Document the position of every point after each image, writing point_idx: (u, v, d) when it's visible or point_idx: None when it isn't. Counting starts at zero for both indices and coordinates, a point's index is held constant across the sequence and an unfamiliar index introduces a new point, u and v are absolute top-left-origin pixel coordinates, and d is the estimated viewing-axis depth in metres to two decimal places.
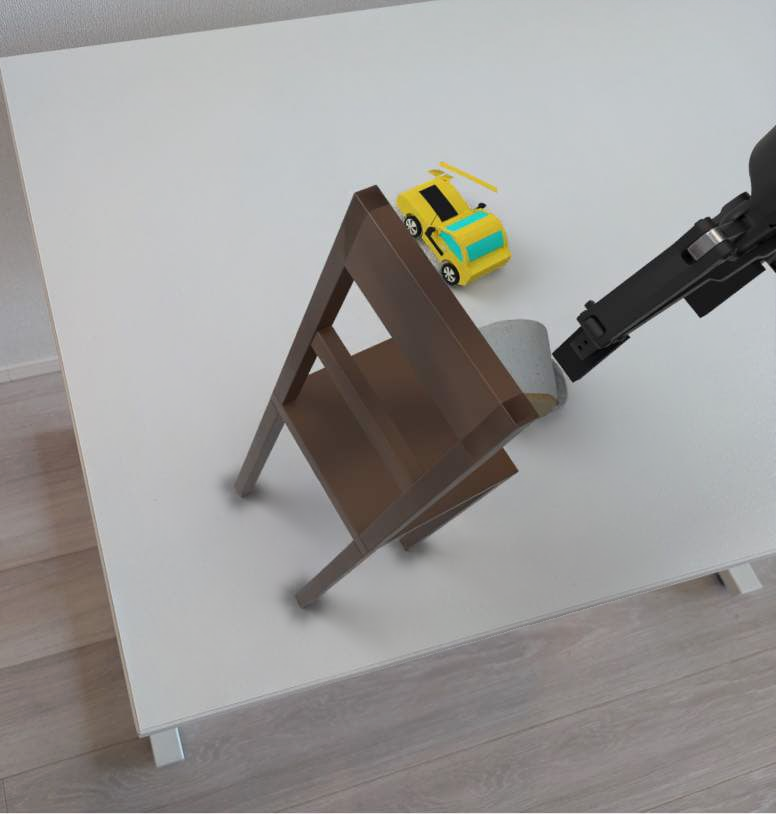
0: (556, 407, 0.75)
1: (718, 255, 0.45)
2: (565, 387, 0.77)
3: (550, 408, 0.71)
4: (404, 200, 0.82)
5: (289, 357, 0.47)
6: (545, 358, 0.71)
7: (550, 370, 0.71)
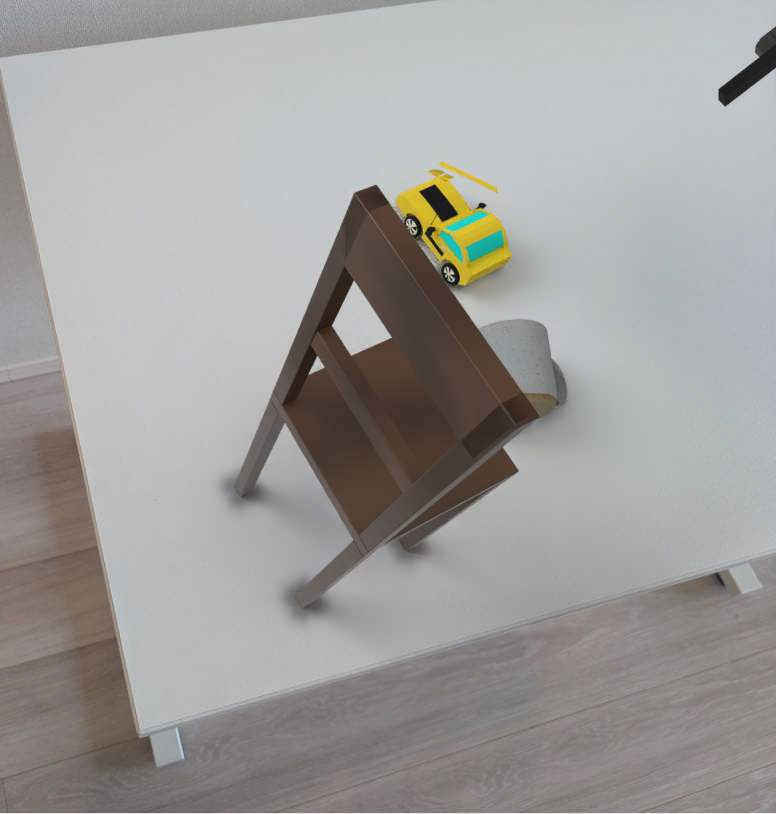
0: (556, 407, 0.75)
1: None
2: (565, 387, 0.77)
3: (550, 408, 0.71)
4: (404, 200, 0.82)
5: (289, 357, 0.47)
6: (545, 358, 0.71)
7: (550, 370, 0.71)
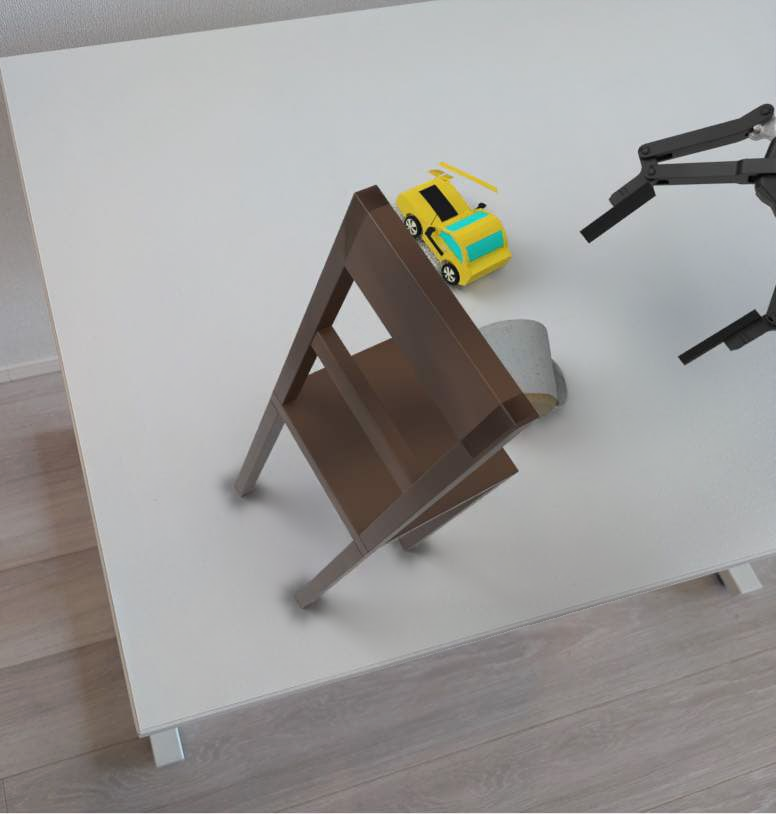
0: (556, 407, 0.75)
1: (761, 106, 0.63)
2: (565, 387, 0.77)
3: (550, 408, 0.71)
4: (404, 200, 0.82)
5: (289, 357, 0.47)
6: (545, 358, 0.71)
7: (550, 370, 0.71)
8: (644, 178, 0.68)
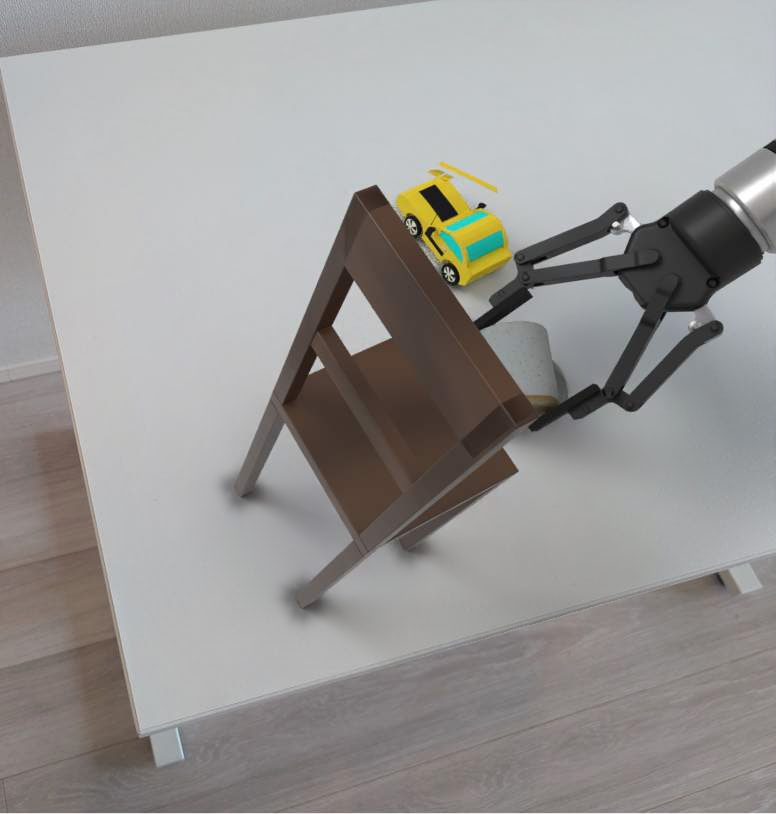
0: None
1: None
2: (566, 388, 0.77)
3: None
4: (404, 200, 0.82)
5: (289, 357, 0.47)
6: (546, 360, 0.71)
7: (551, 371, 0.71)
8: (521, 283, 0.71)
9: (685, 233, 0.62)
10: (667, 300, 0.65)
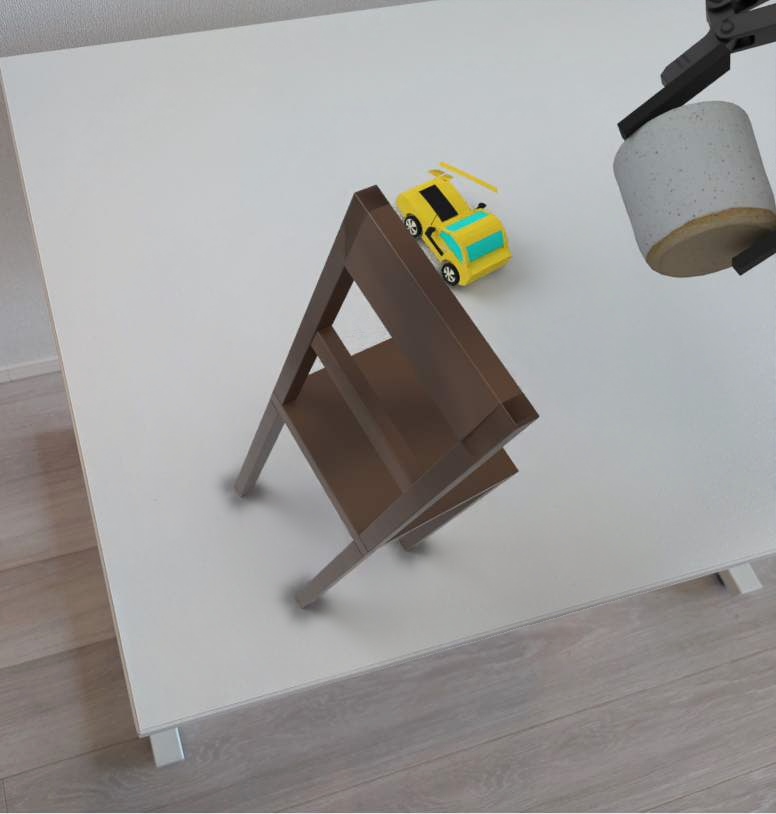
0: None
1: None
2: None
3: None
4: (404, 200, 0.82)
5: (289, 357, 0.47)
6: (759, 159, 0.45)
7: (766, 178, 0.45)
8: (717, 41, 0.46)
9: None
10: None
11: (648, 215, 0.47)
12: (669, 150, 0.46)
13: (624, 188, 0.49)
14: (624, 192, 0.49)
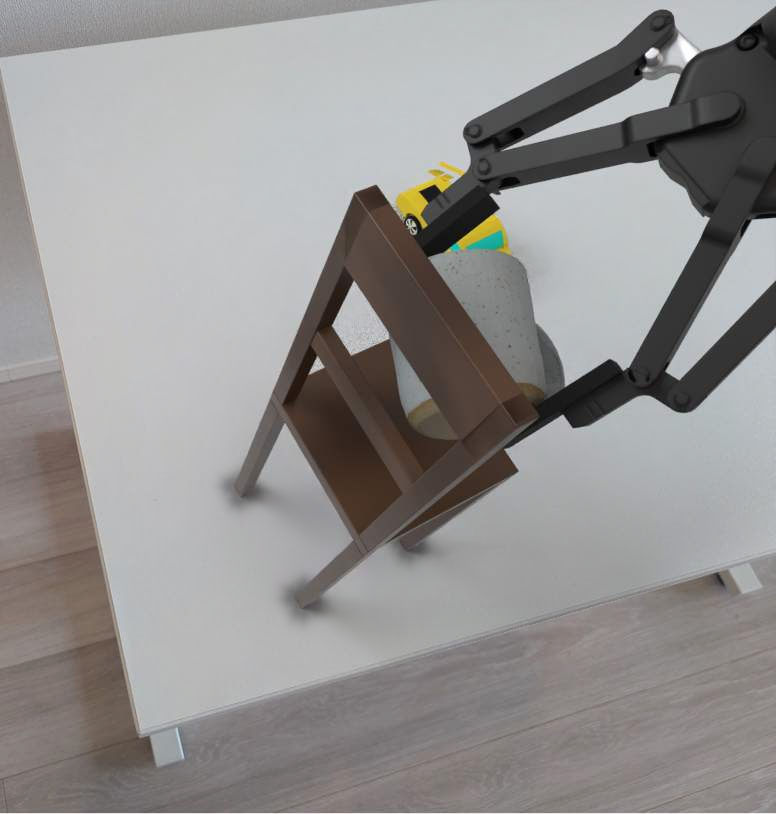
0: None
1: None
2: (560, 372, 0.45)
3: None
4: (404, 200, 0.82)
5: (289, 357, 0.47)
6: (523, 318, 0.39)
7: (532, 340, 0.39)
8: (476, 181, 0.39)
9: None
10: (758, 190, 0.32)
11: (403, 378, 0.40)
12: None
13: None
14: (390, 342, 0.43)
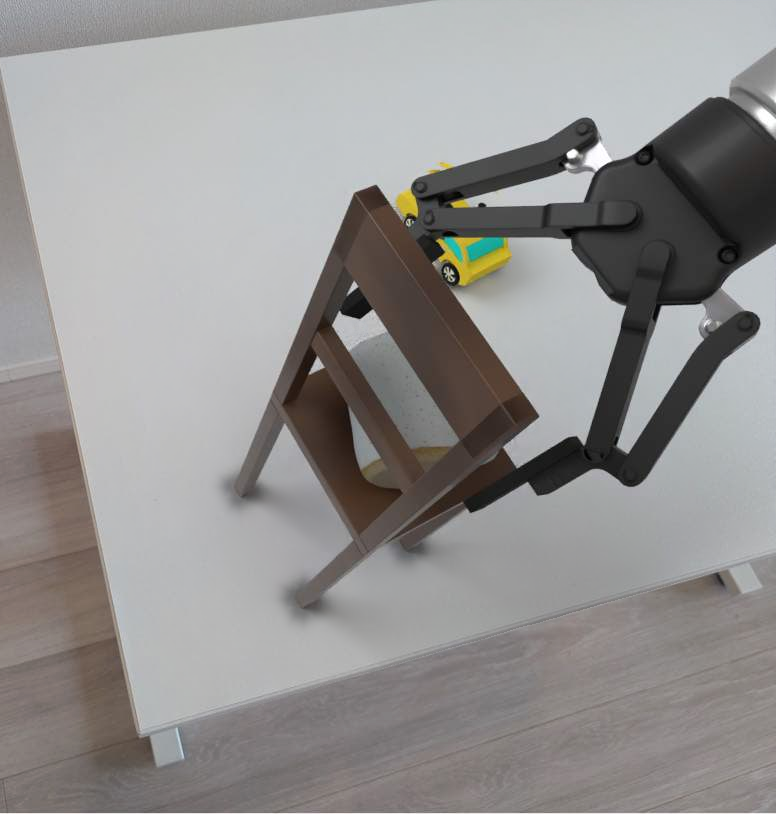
0: None
1: None
2: None
3: None
4: (404, 200, 0.82)
5: (289, 357, 0.47)
6: None
7: None
8: (421, 228, 0.45)
9: (681, 169, 0.36)
10: (658, 285, 0.38)
11: (357, 439, 0.47)
12: (373, 378, 0.46)
13: None
14: None
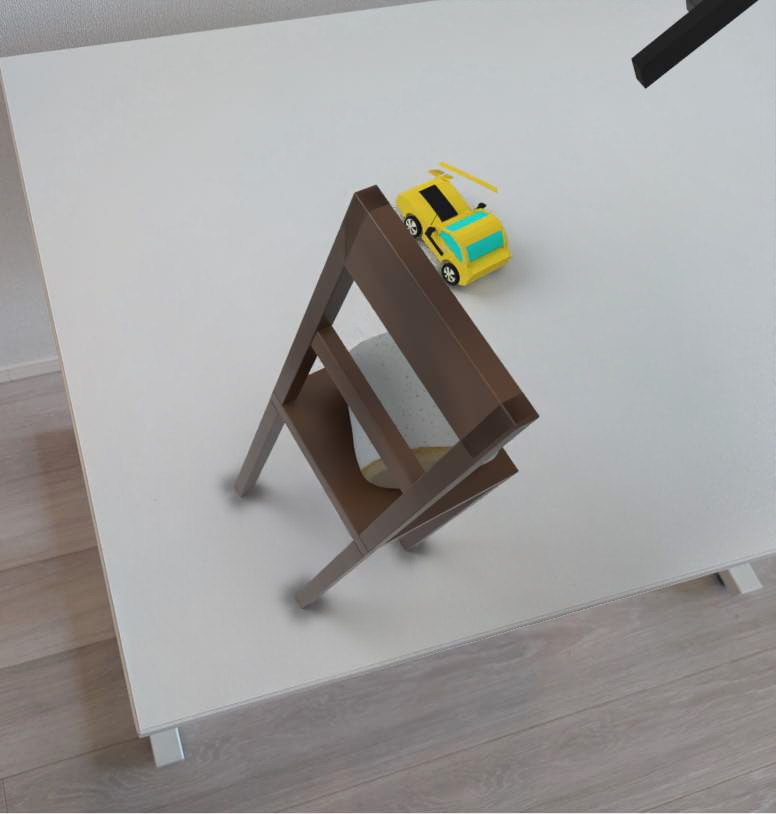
0: None
1: None
2: None
3: None
4: (404, 200, 0.82)
5: (289, 357, 0.47)
6: None
7: None
8: None
9: None
10: None
11: (357, 439, 0.47)
12: (373, 378, 0.46)
13: None
14: None
